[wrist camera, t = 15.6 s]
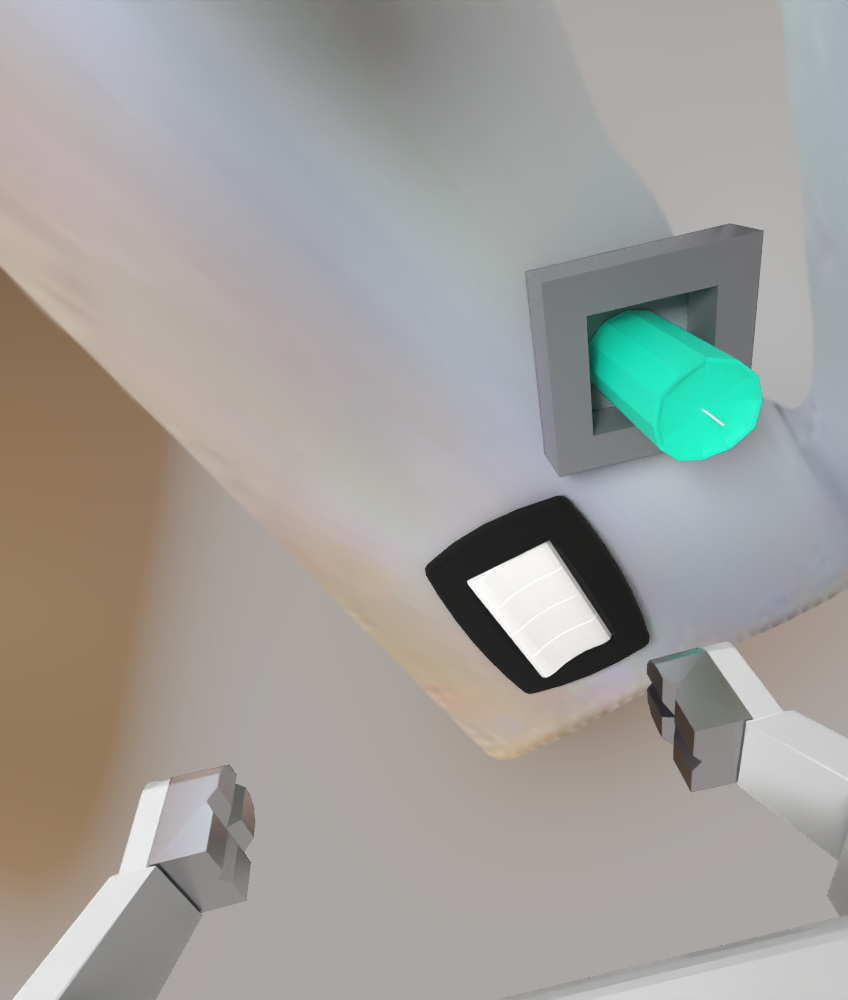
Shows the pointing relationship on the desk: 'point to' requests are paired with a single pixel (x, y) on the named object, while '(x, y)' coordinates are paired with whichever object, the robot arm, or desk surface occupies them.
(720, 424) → the candle
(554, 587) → the light switch
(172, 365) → the desk surface
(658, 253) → the socket block
